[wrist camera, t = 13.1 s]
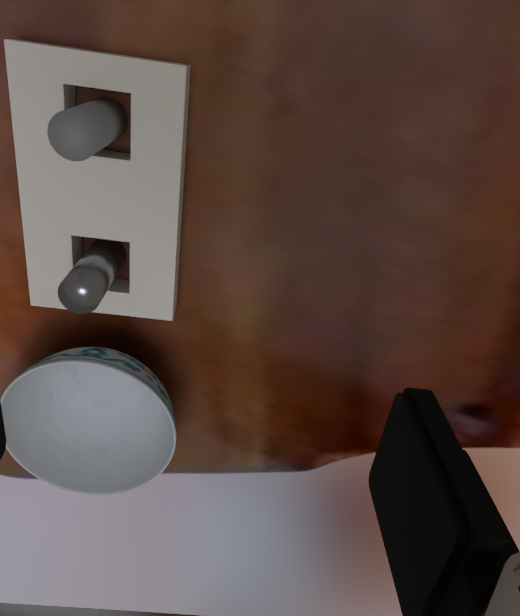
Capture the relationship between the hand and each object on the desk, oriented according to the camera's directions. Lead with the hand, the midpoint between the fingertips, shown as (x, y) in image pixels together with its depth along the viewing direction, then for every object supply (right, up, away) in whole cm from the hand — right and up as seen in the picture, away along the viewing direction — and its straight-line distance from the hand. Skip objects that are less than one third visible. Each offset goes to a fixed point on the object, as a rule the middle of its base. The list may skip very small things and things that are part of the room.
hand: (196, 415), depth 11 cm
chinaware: (-13, -5, +37) cm, 39 cm away
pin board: (-11, +12, +28) cm, 32 cm away
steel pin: (-12, +7, +30) cm, 33 cm away
